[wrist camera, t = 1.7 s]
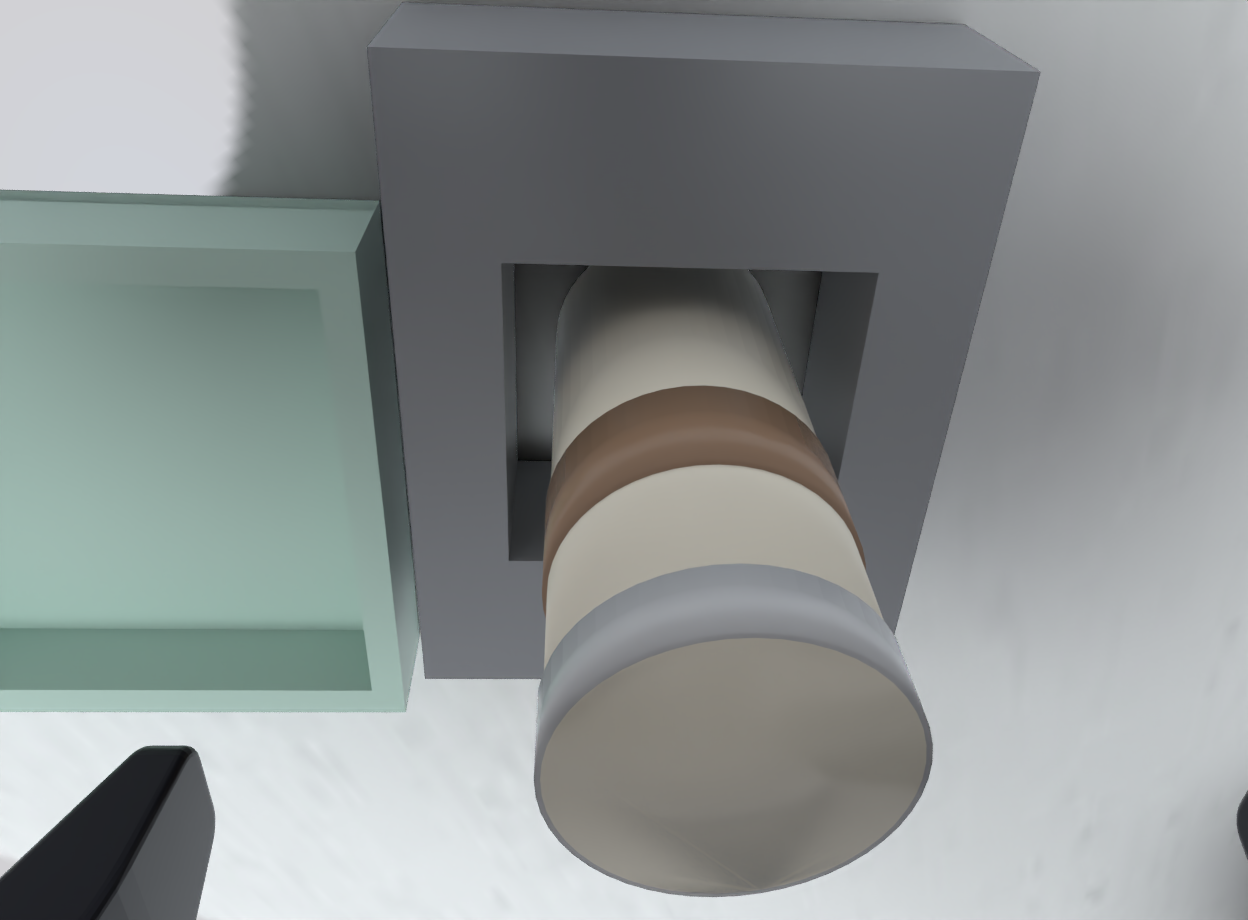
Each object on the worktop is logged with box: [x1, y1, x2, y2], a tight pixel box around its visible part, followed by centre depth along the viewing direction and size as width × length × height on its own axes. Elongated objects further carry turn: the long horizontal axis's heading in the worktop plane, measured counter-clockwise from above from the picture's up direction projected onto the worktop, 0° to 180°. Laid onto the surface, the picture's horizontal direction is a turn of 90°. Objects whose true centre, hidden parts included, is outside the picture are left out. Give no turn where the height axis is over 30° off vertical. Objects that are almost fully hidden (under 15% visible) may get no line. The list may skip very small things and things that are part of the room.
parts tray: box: [0, 190, 420, 712], centre depth 15 cm, size 8×8×2 cm
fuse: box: [534, 265, 933, 897], centre depth 12 cm, size 3×3×8 cm
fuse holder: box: [367, 2, 1040, 679], centre depth 14 cm, size 9×7×2 cm
